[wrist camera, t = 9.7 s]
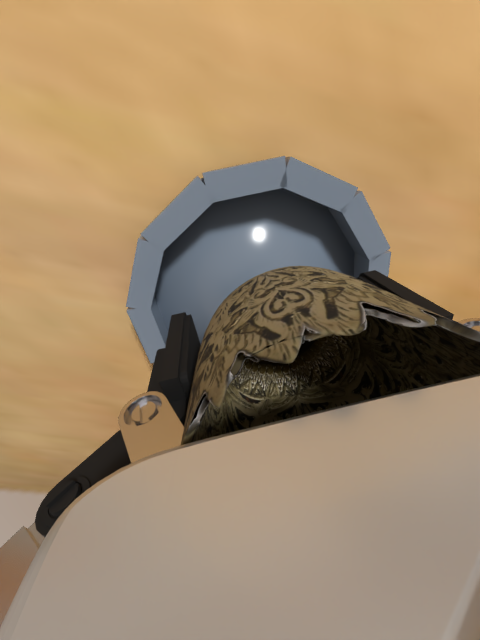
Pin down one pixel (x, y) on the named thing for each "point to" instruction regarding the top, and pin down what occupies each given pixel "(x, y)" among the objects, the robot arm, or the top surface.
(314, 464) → the robot arm
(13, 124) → the top surface
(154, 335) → the dish
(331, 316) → the cup
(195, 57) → the top surface
